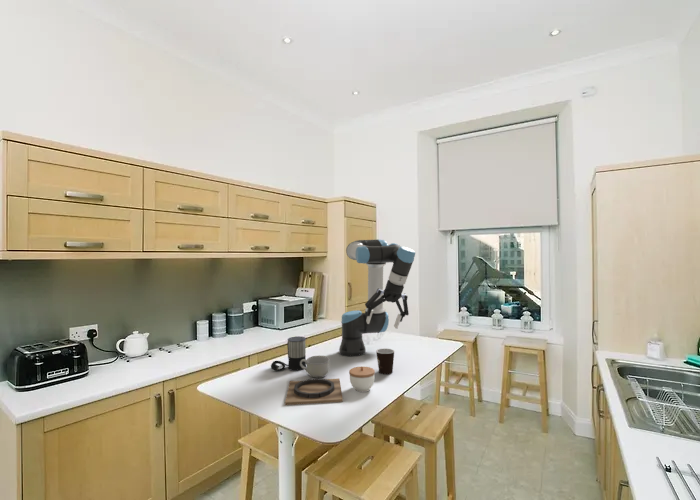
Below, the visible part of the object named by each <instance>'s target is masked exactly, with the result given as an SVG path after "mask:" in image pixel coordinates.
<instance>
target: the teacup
mask: <svg viewBox="0 0 700 500" xmlns="http://www.w3.org/2000/svg"><path fill="white" fill-rule="evenodd" d="M302 362H305V363H306V367H304V366H303V365H302ZM300 366H301V367H302V368H303V370H305V372H306V373H307V374H308V376H310V377H311V378H312V379H318V378H319V379H323V378H324V377H325V376H326V375H328V373H329V372H330V358H329V357H328V356H326V355H313V356H310V357H308V358H306V360H305V359H302V360H301V361H300Z"/></svg>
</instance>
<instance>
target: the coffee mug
mask: <svg viewBox="0 0 700 500" xmlns="http://www.w3.org/2000/svg"><path fill="white" fill-rule="evenodd" d="M375 352H376V360H377V361H376V362H377V368H378V373H379V374H381V375H391V374H393V372H394V371H393V369H394V358H395V350H394V349H392V348H379V349H376V351H375Z"/></svg>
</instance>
